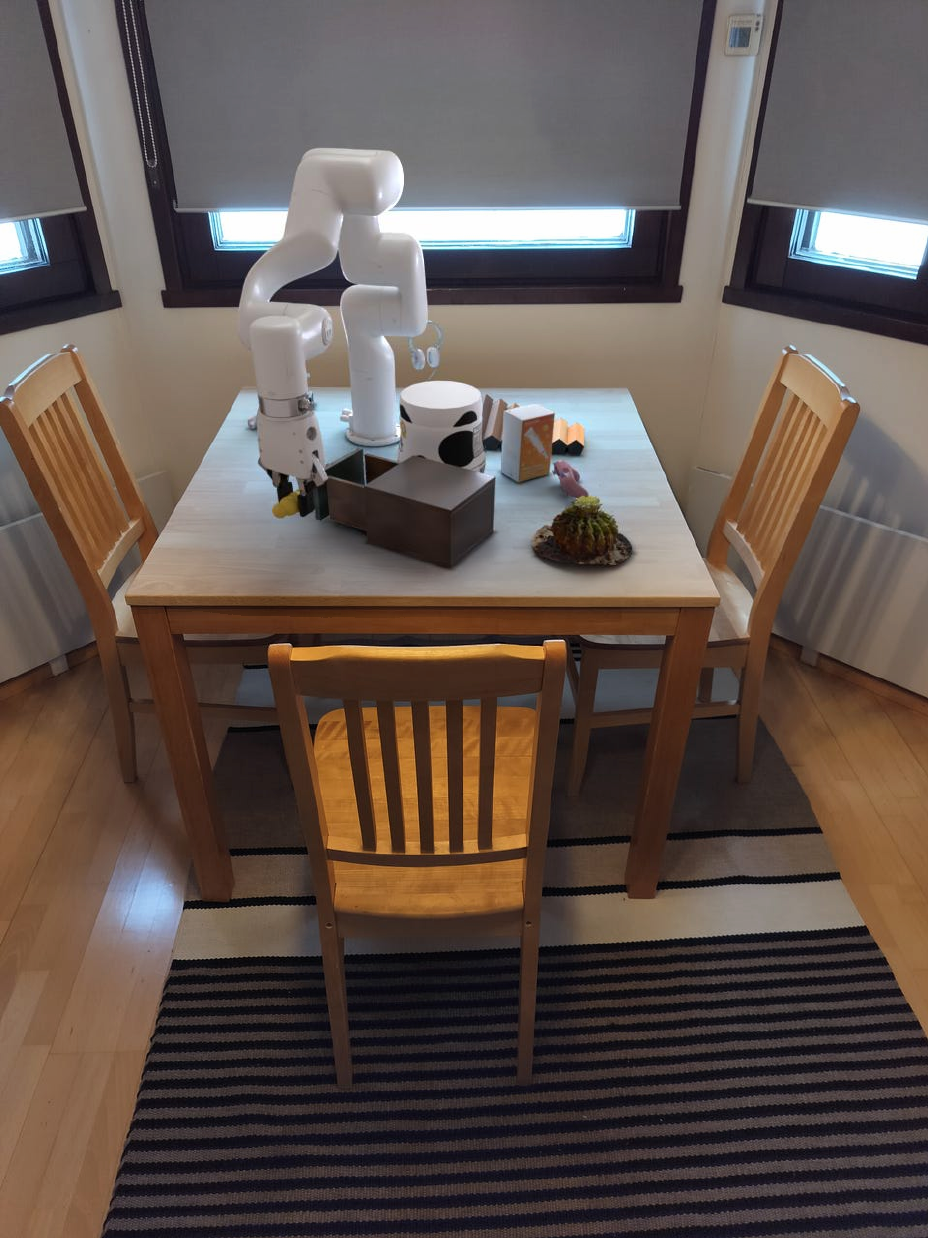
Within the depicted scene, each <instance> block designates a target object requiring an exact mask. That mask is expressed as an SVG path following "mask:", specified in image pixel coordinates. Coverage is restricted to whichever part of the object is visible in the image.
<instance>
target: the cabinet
mask: <svg viewBox="0 0 928 1238" xmlns="http://www.w3.org/2000/svg"><path fill="white" fill-rule="evenodd" d="M364 490H365V508H366V524H367V531H366V538H367V544H371V545H374V546H377V547H380V548H383V549H387V550H389V551H393V552H396V553H398V554H403V555H405V556H409V557H411V558H415V559H417V560H421V561H425V562H426V563H427V562H428V563H431V564H434V565H437V566H440V567H444V568H447V569H450V570H451V569H452V568H453V567H455V566H456V565H457V564H458V563H459V562H461V561H462V560H463V559H464V558H465V557H466V556H467V555H469V554H470V553H471V552H472V551H474V550H475V549H476V548H477V547H478V546H479V545H481V544H482V543H483V542H484V541H485V540H486V539H487V538H489V536H491V535H492V534H493V533H494V527H495V501H496V500H495V499H496V497H495V496H496V476H495V475H491V474H488V473H485V472H484V473H480V472H476V471H472V470H468V469H464V468H461V467H457V466H453V465H449V464H445V463H441V462H437V461H433V460H429V459H425V458H422V457H418V456H414V455H413V456H411V457H410V458H408V459H406V460H405V461H403V462H402V463H400V464H398V465H397V466H395V467H394V468H392V469H390V470H389V471H387V472H386V473H384V474H382V475H381V476H379V477H378V478H376V479H374V480H373V481H371V482H370V483H368V484H367V485H366V484H365V486H364Z"/></svg>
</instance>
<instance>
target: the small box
mask: <svg viewBox="0 0 928 1238" xmlns="http://www.w3.org/2000/svg"><path fill="white" fill-rule="evenodd" d="M554 421H555V412H554V411H552V410H550V409H548V408H547V407H544V406H542V405H541V404H538V403H532V404H527V405H522V406H520V407H517V408H514V409H510V410H505V411H504V415H503V436H502V447H501V457H500V458H501V460H500V472H501V473H502V474H503V475H505V476H507V477H508V478H509V479H510V478H511V479H512V480H513V481H515V482H516V483H522V482H524V481H528V480H532V479H535V478H539V477H543V476H548V475H550V473H551V472H550V471H551V463H552V440H553V428H554Z"/></svg>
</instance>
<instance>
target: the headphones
mask: <svg viewBox="0 0 928 1238" xmlns="http://www.w3.org/2000/svg"><path fill="white" fill-rule="evenodd" d="M427 324H430V325H431V324H432V325H433V326H434V327H435V328H436V331H437V333H438V341H437V342H436V343H434V346H431V347H428V348H427V351H426V357H425V353H424V352H423V350H422V349H420V348H419V349H418V348H417V346H413V339H414V337H408V345H409V353H410V354H411V362H412V365H413V367H414V369H415V370H423V369H424V368H425V365H426V361H427V364H428V365H429V367H431V368H434V371H433V372H432V374H431V375H430V376H429V377H428V379H427V380H426V381H425V382H429V380H430V379H431V378H432V377H433V376H434V375H435V373H436V370H437V368H436V367H438V366H439V365H440V362H441V361H440V360H441V355H440V351H441V349H442V346H443V345H442V343H443V331H442V329H441V327H440V326H439V324H437V323H436V322H434V321H431V320H429V319H428V320H427ZM414 348H415V349H414Z"/></svg>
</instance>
